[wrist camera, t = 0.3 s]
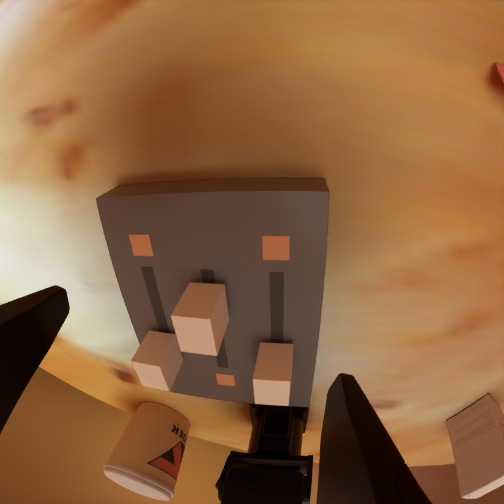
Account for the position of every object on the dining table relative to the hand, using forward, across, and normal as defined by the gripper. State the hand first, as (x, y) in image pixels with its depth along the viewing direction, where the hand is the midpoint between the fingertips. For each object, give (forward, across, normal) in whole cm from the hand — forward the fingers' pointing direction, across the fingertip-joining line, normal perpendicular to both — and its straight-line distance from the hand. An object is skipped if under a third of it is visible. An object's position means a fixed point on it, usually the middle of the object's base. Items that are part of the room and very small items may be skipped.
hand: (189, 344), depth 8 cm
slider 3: (+10, -4, +10) cm, 15 cm away
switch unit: (+14, +1, +9) cm, 16 cm away
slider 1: (+10, +4, +12) cm, 17 cm away
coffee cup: (+14, +6, +33) cm, 36 cm away
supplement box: (+14, -36, +20) cm, 43 cm away
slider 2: (+10, +1, +6) cm, 12 cm away
